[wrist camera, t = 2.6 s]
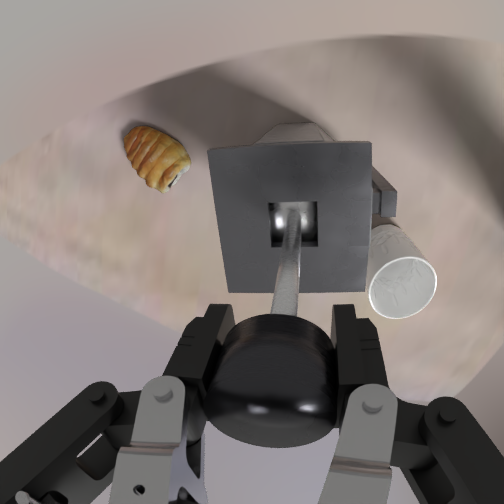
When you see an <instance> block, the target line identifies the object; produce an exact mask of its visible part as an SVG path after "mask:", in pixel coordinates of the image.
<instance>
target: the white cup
mask: <svg viewBox="0 0 504 504" xmlns="http://www.w3.org/2000/svg"><path fill="white" fill-rule="evenodd" d="M436 286H437V277H436V273H435V270H434V269H433V267H432V266H431V264H430V263H429V262H428V260H427V259H426V258H425V256H424V255H423V254H422V252H421V251H420V250H419V249H418V247H417V246H416V245H415V243H414V242H413V241H412V240H411V239H410V238H409V237H407V236H406V234H405V233H404V232H403V231H402V229H401V228H399V227H396V226H394V225H391V224H388V225H379V226H377V227H375V228H373V229H372V230H371V240H370V248H369V252H368V265H367V276H366V287H367V292H368V298H369V302H370V304H371V306H372V308H373V309H374V310H375V311H376V312H377V313H378V314H380V315H381V316H384V317H387V318H391V319H400V318H406V317H409V316H412V315H414V314H416V313H418V312H419V311H421V310H422V309H423V308H424V307H425V306H426V305H427V304H428V303H429V302H430V300H431V299H432V297H433V295H434V293H435V290H436Z"/></svg>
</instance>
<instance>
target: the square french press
mask: <svg viewBox="0 0 504 504" xmlns="http://www.w3.org/2000/svg"><path fill="white" fill-rule="evenodd" d="M207 153H208V160H209V168H210V175H211V182H212V189H213V196H214V203H215V210H216V216H217V223H218V230H219V236H220V243H221V249H222V255H223V262H224V268H225V274H226V280H227V286H228V292H229V293H274V290H275V285H276V279H277V273H278V267H279V261H280V255H281V249H282V243H283V242H272V230H271V218H270V206H269V203H278V202H311V201H317V221H318V241H308V242H301V256H300V276H299V293H326V292H365V286H366V276H367V265H368V252H369V248H370V240H371V223H372V214H379V215H380V217H396V204H397V191H396V190H395V189H394V187H393V186H392V185H391V184H390V183H389V182H388V181H387V180H386V179H385V178H384V177H383V176H382V175H381V174H380V173H379V172H378V171H377V170H376V169H375V168H374V167H373V166H372V143H371V142H369V141H334V140H333V139H332V138H331V137H330V136H328V135H327V134H326V133H325V132H324V131H323V130H322V129H321V128H320V127H318V126H317V125H316V124H315V123H290V124H278V125H276V126H275V127H274V128H273V129H271V130H270V131H269V132H268V133H266V134H265V135H264V136H263V137H262V138H260V139H259V140H258V141H257V142H256V143H255V144H253V145H243V146H232V147H222V148H212V149H209V150H207Z"/></svg>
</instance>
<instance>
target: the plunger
mask: <svg viewBox="0 0 504 504" xmlns="http://www.w3.org/2000/svg"><path fill="white" fill-rule="evenodd" d="M269 206H270V218H271V230H272V242H283V243H282V249H281V255H280V261H279V267H278V273H277V279H276V285H275V290H274V296H273V302H272V307H271V313H270V314H264V315H258V316H254V317H251V318H248V319H245V320H243V321H242V322H240V323H238V324H237V325H235V326H234V327H233V328H232V329H231V330H230V331H229V332H228V334H227V335H226V337H225V340H224V342H223V345H222V348H221V351H220V354H219V357H218V360H217V363H216V366H215V369H214V372H213V375H212V378H211V381H210V384H209V387H208V390H207V393H206V396H205V399H204V403H203V409H204V413H205V415H206V417H207V418H208V420H209V421H210V422H211V423H212V424H213V426H215V427H216V428H217V429H218V430H220V431H221V432H223V433H224V434H226V435H228V436H230V437H232V438H234V439H236V440H239V441H241V442H244V443H248V444H252V445H256V446H262V447H270V448H288V447H296V446H302V445H306V444H309V443H312V442H315V441H317V440H319V439H321V438H322V437H324V436H326V435H327V434H328V433H329V432H330V431H331V430H332V429H333V428H334V426H335V424H336V421H337V401H336V372H335V352H334V346H333V343H332V341H331V340H330V338H329V337H328V335H327V334H326V333H325V332H324V331H323V330H322V329H321V328H319V327H318V326H316V325H315V324H313V323H311V322H309V321H307V320H305V319H302V318H300V317H297V310H298V294H299V276H300V256H301V242H308V241H318V221H317V201H311V202H278V203H269Z"/></svg>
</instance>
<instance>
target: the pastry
mask: <svg viewBox="0 0 504 504" xmlns="http://www.w3.org/2000/svg"><path fill="white" fill-rule="evenodd" d="M124 148H125V150H126V153H127V158H128V159H129V160H130V161H131V164H132V167H133V168H134V169H135V170H136V171H137V174H138V175H139V176H140V177H141V178H144V179H145V180H146V184H147V186H149V187H151V188H155V189H157V190H158V191H160V192H161V193H166V192H168V191H169V189H170V188H171V186H173V185H175V184H176V182H177V181H178V179H179V178H180V177H181V175H182V174H183V173H185V172H187V170H188V169H189V168H190V165H191V160H190V157H189V155H188V153H187V152H186V150H185V148H184V147H183V145H181V144H180V143H179V142H178V141H177V140H174V139H173V138H171V137H170V136H168V135H166V134H164V133H162V132H160V131H158V130H155V129H153V128H151V127H148V126H139V127H135V128H133V129H132V130H131V131H130V132H129V133H128V134H127V135H126V136H125V137H124Z"/></svg>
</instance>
